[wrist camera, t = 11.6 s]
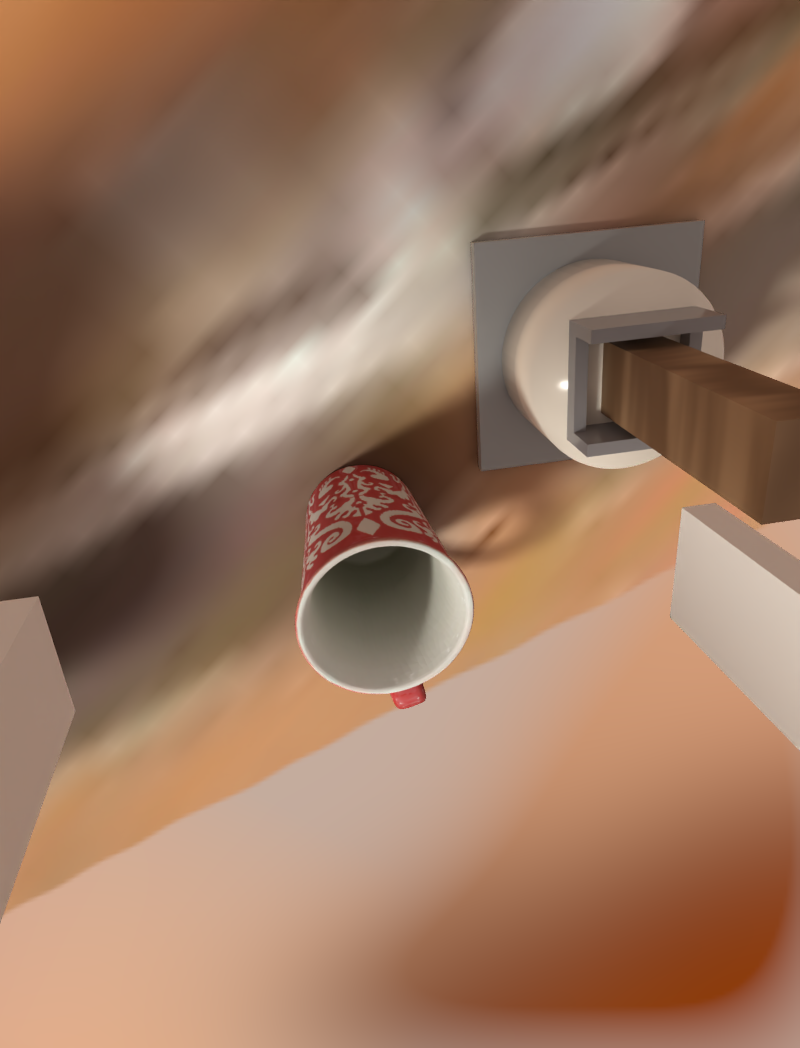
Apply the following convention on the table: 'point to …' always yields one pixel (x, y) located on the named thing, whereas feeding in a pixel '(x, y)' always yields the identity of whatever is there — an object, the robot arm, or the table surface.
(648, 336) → the square plate with disc
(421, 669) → the mug
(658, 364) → the wood plank
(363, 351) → the table surface
